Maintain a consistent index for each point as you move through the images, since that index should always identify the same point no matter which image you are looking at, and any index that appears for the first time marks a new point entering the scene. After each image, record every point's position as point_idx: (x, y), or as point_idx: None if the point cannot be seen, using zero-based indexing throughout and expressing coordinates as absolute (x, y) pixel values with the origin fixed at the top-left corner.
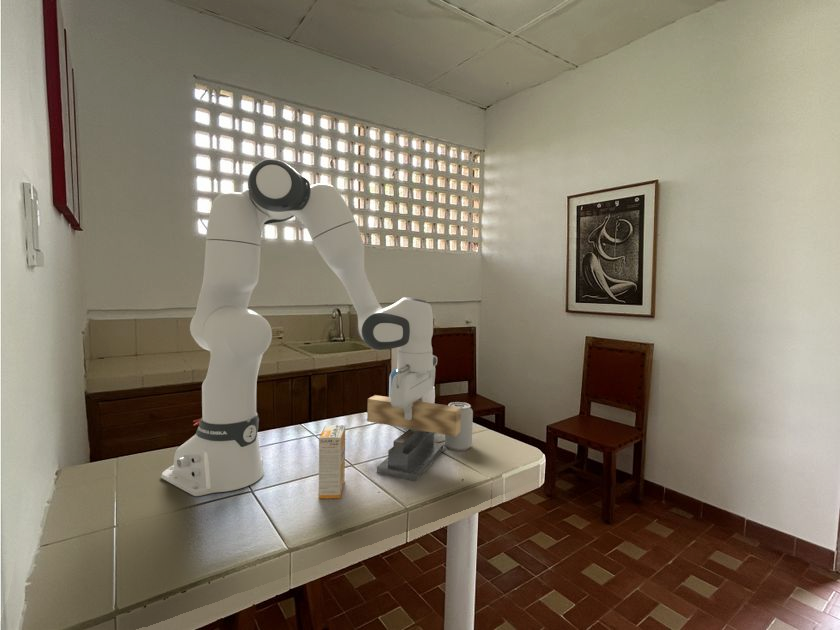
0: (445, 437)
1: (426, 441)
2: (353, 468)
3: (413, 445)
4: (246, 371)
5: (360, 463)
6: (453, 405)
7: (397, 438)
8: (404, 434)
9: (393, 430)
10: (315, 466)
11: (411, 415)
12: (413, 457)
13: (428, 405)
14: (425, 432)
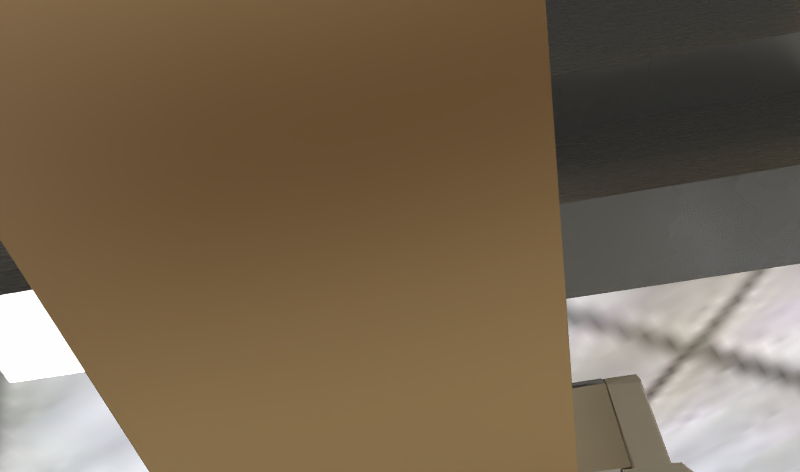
0: None
1: None
2: (735, 319)
3: (559, 111)
4: None
5: (646, 329)
6: None
7: (768, 263)
8: (605, 272)
9: (38, 464)
10: (788, 457)
11: (647, 426)
12: (619, 17)
13: (378, 438)
14: None
